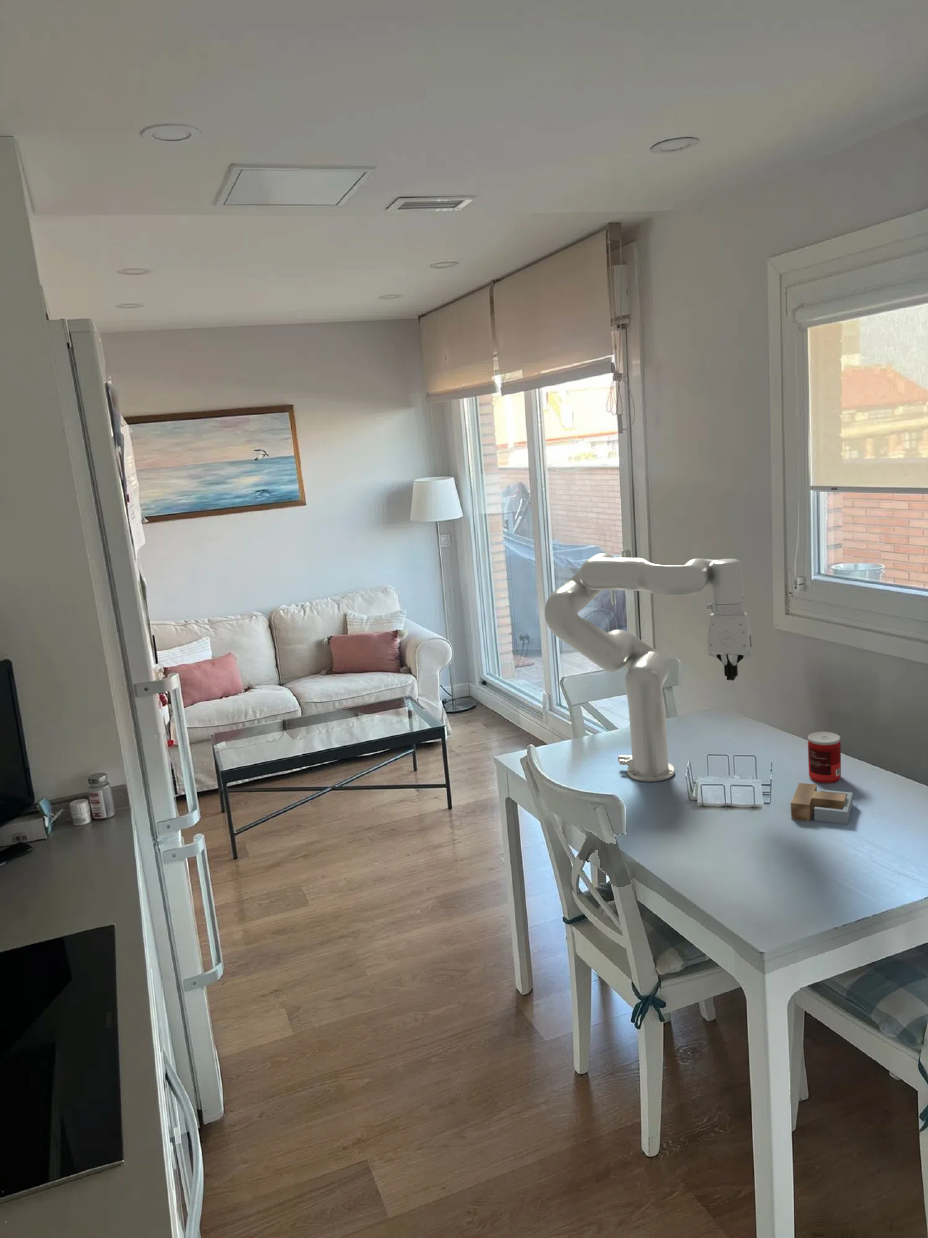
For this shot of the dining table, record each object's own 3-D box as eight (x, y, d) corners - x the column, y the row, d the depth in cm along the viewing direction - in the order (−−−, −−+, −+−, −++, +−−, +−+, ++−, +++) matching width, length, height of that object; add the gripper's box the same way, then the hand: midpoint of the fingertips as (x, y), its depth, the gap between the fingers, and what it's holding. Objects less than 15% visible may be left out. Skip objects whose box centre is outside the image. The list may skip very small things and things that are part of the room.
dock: (814, 820, 206) (814, 808, 205) (821, 801, 215) (820, 789, 215) (847, 824, 203) (847, 812, 202) (852, 804, 212) (852, 792, 211)
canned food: (835, 770, 231) (834, 730, 229) (845, 783, 224) (844, 741, 221) (804, 772, 232) (803, 732, 230) (813, 784, 225) (812, 743, 222)
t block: (791, 819, 208) (790, 803, 207) (799, 798, 218) (799, 782, 217) (842, 824, 203) (842, 808, 202) (848, 803, 213) (848, 787, 212)
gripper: (694, 611, 224) (698, 682, 228) (756, 612, 217) (758, 684, 221) (702, 605, 230) (705, 673, 234) (762, 605, 223) (764, 676, 227)
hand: (731, 678), depth 227 cm, fingers closed
